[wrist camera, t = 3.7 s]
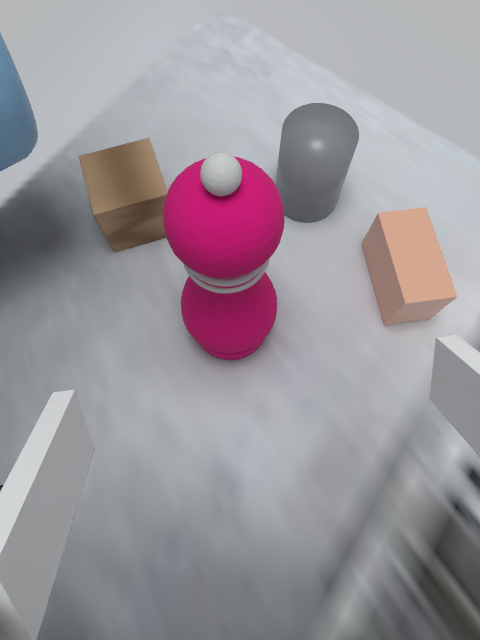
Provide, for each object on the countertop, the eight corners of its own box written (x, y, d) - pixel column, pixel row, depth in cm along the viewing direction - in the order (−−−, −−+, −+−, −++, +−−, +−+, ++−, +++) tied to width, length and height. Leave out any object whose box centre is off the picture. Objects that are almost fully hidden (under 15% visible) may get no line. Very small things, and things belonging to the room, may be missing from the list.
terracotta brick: (383, 326, 36) (405, 303, 31) (361, 244, 39) (378, 213, 34) (428, 319, 36) (457, 296, 31) (403, 239, 39) (425, 207, 34)
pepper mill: (250, 274, 37) (261, 72, 19) (287, 344, 35) (342, 196, 16) (175, 305, 36) (106, 125, 18) (208, 380, 34) (169, 265, 15)
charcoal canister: (280, 226, 39) (290, 167, 32) (269, 174, 41) (275, 107, 34) (343, 218, 39) (367, 158, 32) (329, 166, 41) (348, 99, 34)
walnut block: (115, 253, 38) (93, 214, 33) (101, 200, 40) (78, 156, 35) (178, 234, 39) (168, 194, 33) (161, 184, 41) (149, 137, 35)
